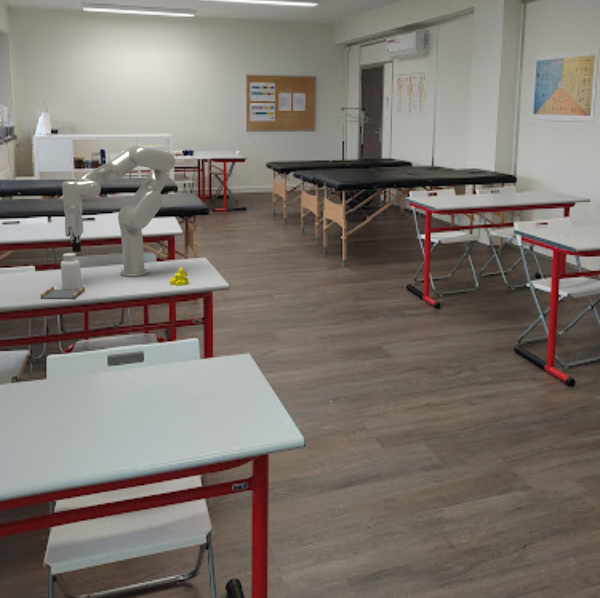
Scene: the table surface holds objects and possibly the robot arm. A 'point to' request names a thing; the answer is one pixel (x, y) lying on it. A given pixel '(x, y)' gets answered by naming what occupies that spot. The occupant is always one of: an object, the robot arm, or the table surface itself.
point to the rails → (53, 289)
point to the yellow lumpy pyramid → (179, 278)
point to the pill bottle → (71, 272)
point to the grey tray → (61, 294)
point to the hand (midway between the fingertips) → (76, 251)
